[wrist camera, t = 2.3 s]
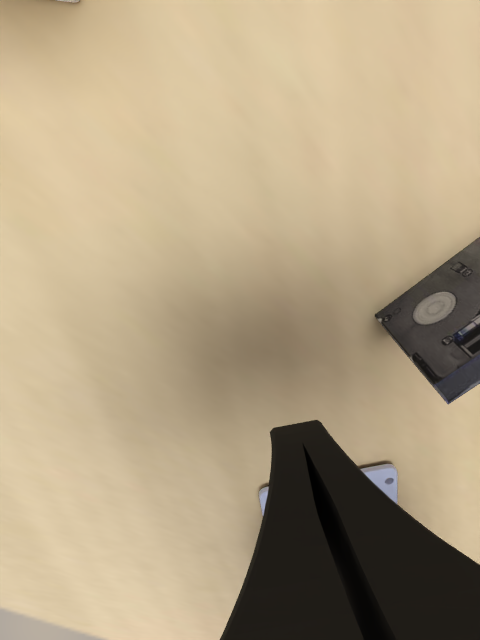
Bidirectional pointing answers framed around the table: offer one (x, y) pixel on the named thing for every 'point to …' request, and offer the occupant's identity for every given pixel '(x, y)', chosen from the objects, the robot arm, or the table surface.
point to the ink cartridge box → (70, 0)
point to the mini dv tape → (442, 324)
